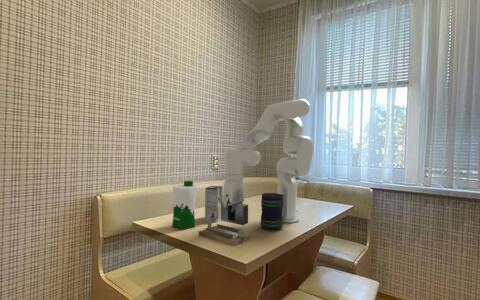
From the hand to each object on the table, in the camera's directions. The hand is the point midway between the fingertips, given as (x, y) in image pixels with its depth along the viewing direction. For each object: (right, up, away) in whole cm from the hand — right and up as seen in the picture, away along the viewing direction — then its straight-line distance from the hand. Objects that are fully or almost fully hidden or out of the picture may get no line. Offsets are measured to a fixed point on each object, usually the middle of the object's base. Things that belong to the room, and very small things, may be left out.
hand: (234, 218), depth 116 cm
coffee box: (-10, -4, +14) cm, 18 cm away
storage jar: (+17, -5, +2) cm, 18 cm away
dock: (-4, -4, -12) cm, 13 cm away
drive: (0, -1, 0) cm, 1 cm away
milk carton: (-22, -4, 0) cm, 23 cm away
